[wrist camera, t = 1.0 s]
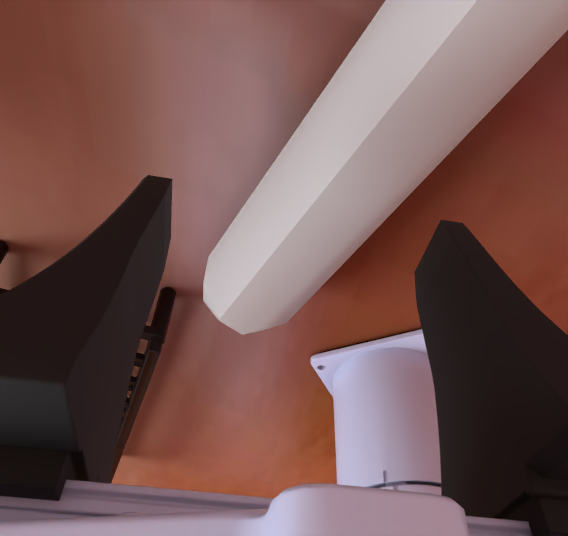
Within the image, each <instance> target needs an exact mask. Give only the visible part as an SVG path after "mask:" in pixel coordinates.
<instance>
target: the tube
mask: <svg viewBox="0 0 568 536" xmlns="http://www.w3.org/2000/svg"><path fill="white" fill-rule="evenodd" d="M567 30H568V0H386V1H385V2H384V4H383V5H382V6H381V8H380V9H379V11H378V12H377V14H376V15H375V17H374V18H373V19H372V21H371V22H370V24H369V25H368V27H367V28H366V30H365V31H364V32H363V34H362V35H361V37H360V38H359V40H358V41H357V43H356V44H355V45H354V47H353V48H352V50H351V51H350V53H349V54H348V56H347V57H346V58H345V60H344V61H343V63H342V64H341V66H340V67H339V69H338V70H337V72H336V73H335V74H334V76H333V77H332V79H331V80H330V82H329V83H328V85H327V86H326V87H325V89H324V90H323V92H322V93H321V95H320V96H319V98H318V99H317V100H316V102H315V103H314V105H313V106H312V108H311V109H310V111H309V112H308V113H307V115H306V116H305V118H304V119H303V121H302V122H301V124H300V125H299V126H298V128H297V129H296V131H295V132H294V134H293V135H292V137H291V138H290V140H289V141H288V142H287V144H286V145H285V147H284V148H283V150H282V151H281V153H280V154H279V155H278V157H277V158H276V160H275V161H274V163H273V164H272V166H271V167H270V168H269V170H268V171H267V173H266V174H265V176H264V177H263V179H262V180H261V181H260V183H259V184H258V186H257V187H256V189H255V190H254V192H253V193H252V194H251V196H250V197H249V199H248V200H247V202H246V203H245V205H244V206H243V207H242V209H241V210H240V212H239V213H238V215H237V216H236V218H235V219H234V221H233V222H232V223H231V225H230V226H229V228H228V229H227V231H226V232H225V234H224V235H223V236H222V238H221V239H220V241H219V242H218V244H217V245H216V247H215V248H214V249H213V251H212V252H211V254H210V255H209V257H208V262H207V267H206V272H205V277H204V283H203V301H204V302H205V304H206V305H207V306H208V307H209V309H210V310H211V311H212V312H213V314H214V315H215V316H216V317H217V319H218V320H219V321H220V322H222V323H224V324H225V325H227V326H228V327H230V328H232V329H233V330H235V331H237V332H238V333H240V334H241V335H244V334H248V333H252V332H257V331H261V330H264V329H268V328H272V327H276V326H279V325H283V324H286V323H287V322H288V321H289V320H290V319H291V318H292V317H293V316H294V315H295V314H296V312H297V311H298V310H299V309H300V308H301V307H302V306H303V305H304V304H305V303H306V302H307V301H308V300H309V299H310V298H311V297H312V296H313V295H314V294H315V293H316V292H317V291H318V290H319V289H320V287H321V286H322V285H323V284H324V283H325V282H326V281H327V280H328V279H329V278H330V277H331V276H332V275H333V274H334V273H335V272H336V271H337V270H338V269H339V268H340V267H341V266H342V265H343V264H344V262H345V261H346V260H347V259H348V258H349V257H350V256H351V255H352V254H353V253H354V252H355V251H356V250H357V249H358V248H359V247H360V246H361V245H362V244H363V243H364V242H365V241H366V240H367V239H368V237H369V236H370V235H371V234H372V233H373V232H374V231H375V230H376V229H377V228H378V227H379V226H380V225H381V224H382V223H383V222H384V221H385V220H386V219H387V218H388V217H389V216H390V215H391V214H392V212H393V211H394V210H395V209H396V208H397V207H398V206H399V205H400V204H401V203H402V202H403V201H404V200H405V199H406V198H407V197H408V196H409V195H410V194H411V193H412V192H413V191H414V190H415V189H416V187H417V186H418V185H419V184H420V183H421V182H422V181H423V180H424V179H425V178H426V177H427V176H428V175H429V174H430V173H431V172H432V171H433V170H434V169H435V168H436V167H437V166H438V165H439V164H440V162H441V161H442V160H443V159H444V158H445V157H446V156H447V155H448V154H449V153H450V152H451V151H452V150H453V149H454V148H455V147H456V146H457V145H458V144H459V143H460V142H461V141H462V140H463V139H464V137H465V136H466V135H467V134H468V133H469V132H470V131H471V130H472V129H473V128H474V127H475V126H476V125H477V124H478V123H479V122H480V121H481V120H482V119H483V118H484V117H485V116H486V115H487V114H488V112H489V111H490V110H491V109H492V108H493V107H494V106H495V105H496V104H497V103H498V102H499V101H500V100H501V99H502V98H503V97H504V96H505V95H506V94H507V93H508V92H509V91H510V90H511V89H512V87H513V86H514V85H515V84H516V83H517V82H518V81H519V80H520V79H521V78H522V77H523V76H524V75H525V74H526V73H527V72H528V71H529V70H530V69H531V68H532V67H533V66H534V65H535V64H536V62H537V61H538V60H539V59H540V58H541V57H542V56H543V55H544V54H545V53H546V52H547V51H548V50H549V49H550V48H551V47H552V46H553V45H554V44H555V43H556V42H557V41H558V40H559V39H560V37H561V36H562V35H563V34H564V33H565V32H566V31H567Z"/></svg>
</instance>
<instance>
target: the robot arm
mask: <svg viewBox="0 0 568 536" xmlns="http://www.w3.org/2000/svg"><path fill="white" fill-rule="evenodd" d="M171 205H172V179H170V178H163V177H157V176H150V175H148V176H146V177H145V178H144V179H143V180H142V181H141V182H140V184H139V185H138V186H137V187H136V188H135V190H134V191H133V192H132V193H131V194H130V195H129V196H128V198H127V199H126V200H125V201H124V202H123V203H122V204H121V205H120V206H119V207H118V208H117V209H116V210H115V211H114V212H113V213H112V214H111V215H110V216H109V217H108V218H107V219H106V220H105V221H104V222H103V223H102V224H101V225H100V226H99V227H98V228H97V229H96V230H94V231H93V232H92V233H91V234H90V235H89V236H88V237H87V238H85V239H84V240H83V241H82V242H81V243H80V244H78V245H77V246H76V247H75V248H73V249H72V250H71V251H70V252H68V253H67V254H66V255H64V256H63V257H62V258H60V259H59V260H57V261H56V262H55V263H53V264H52V265H50V266H49V267H47V268H46V269H44V270H43V271H41V272H40V273H38V274H36V275H35V276H33V277H32V278H30V279H29V280H27V281H25V282H24V283H22V284H20V285H18V286H17V287H15V288H13V289H11V290H9V291H7V292H5V293H3V294H1V295H0V536H568V335H567V334H565V333H564V332H563V331H562V330H561V329H560V328H559V327H558V326H556V325H555V324H554V323H553V322H552V321H551V320H550V319H549V318H548V317H546V316H545V315H544V314H543V313H542V312H541V311H540V310H539V309H538V308H537V307H536V306H535V305H534V304H533V303H532V302H531V301H530V300H529V299H528V298H527V297H526V296H525V294H524V293H523V292H522V291H521V290H520V289H519V288H518V287H517V286H516V285H515V284H514V283H513V282H512V280H511V279H510V278H509V277H508V276H507V275H506V274H505V272H504V271H503V270H502V269H501V268H500V267H499V265H498V264H497V263H496V262H495V261H494V259H493V258H492V257H491V256H490V255H489V253H488V252H487V251H486V250H485V249H484V247H483V246H482V245H481V244H480V243H479V241H478V240H477V239H476V238H475V237H474V235H473V234H472V233H471V232H470V231H469V230H468V229H467V227H466V226H465V225H464V224H463V223H459V222H452V221H446V220H441V221H440V223H439V225H438V227H437V229H436V231H435V233H434V235H433V237H432V239H431V241H430V243H429V245H428V247H427V249H426V251H425V253H424V255H423V257H422V259H421V261H420V263H419V265H418V267H417V269H416V271H415V288H416V300H417V308H418V313H419V318H420V322H421V327H422V329H420V330H416V331H412V332H408V333H404V334H399V335H395V336H391V337H387V338H382V339H378V340H374V341H370V342H366V343H361V344H357V345H353V346H349V347H345V348H340V349H336V350H332V351H328V352H324V353H319V354H315V355H313V356H312V357H311V365H312V366H313V368H314V369H315V371H316V372H317V374H318V375H319V377H320V378H321V380H322V381H323V383H324V384H325V386H326V387H327V389H328V390H329V392H330V393H331V395H332V396H333V400H334V422H335V444H336V466H337V484H328V483H324V484H302V485H298V486H294V487H291V488H287V489H285V490H284V491H282V492H281V493H280V494H279V495H278V496H277V497H276V498H264V497H253V496H242V495H231V494H220V493H209V492H198V491H187V490H176V489H165V488H154V487H143V486H132V485H121V484H110V483H109V481H110V476H111V471H112V466H113V460H114V455H115V450H116V445H117V440H118V435H119V431H120V426H121V421H122V416H123V411H124V407H125V402H126V397H127V393H128V388H129V384H130V379H131V375H132V370H133V366H134V362H135V357H136V353H137V349H138V346H139V343H140V339H141V336H142V333H143V330H144V327H145V325H146V322H147V319H148V316H149V313H150V310H151V307H152V304H153V301H154V298H155V295H156V293H157V290H158V287H159V284H160V281H161V278H162V275H163V272H164V268H165V263H166V258H167V253H168V248H169V244H170V239H171Z"/></svg>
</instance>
